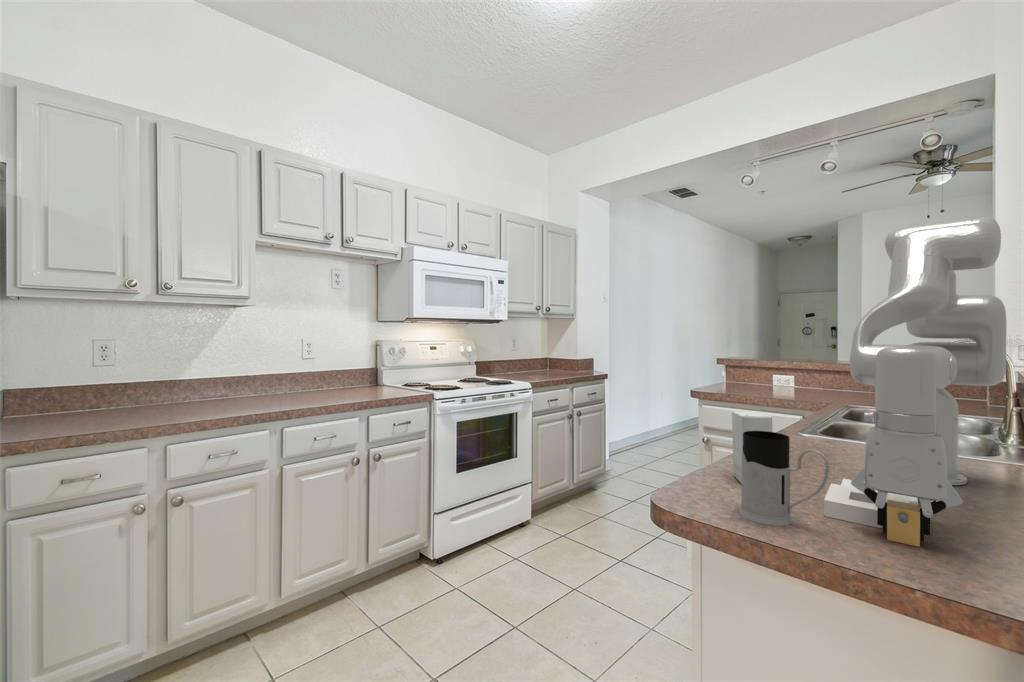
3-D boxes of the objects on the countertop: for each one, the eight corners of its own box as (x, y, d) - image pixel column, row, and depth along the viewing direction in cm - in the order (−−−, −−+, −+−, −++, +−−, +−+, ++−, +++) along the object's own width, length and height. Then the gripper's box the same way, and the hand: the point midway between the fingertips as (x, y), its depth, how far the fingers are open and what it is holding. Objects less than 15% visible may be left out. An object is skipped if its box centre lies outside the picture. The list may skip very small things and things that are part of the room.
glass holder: (750, 503, 90) (750, 428, 90) (835, 526, 79) (836, 441, 79) (730, 514, 84) (731, 434, 84) (819, 541, 73) (820, 449, 73)
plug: (887, 531, 77) (887, 499, 77) (918, 538, 74) (918, 504, 74) (887, 543, 73) (887, 509, 73) (920, 550, 70) (920, 515, 70)
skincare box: (774, 488, 98) (774, 417, 98) (741, 486, 100) (741, 416, 99) (760, 476, 107) (761, 410, 106) (730, 474, 108) (731, 409, 108)
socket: (831, 497, 93) (831, 483, 93) (908, 513, 85) (909, 497, 85) (823, 515, 84) (824, 499, 84) (910, 534, 76) (910, 516, 76)
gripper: (839, 420, 76) (838, 527, 77) (980, 434, 66) (978, 559, 66) (843, 414, 82) (842, 514, 82) (974, 426, 71) (972, 541, 72)
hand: (902, 533), depth 74 cm, fingers closed on plug, 3 cm apart
